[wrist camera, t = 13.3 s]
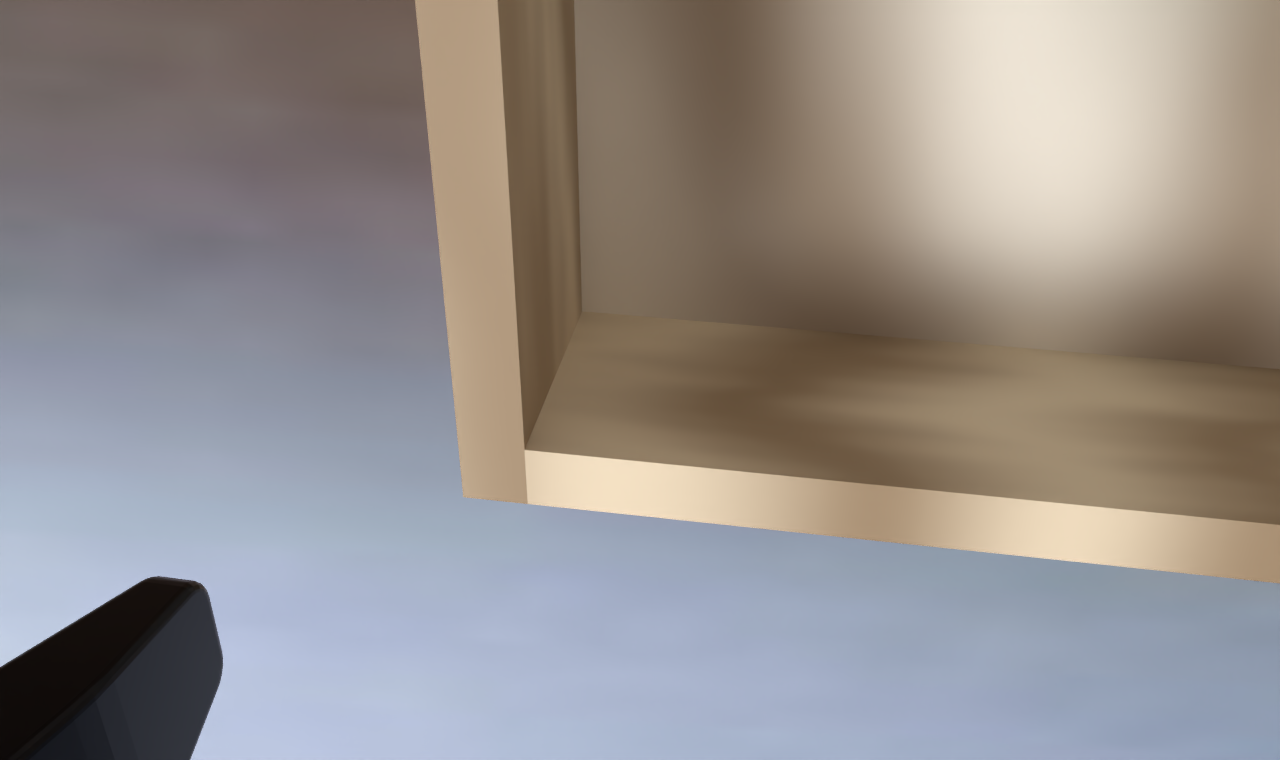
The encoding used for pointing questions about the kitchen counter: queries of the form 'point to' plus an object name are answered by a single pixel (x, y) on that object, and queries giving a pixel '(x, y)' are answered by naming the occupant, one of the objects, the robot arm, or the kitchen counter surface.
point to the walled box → (871, 267)
